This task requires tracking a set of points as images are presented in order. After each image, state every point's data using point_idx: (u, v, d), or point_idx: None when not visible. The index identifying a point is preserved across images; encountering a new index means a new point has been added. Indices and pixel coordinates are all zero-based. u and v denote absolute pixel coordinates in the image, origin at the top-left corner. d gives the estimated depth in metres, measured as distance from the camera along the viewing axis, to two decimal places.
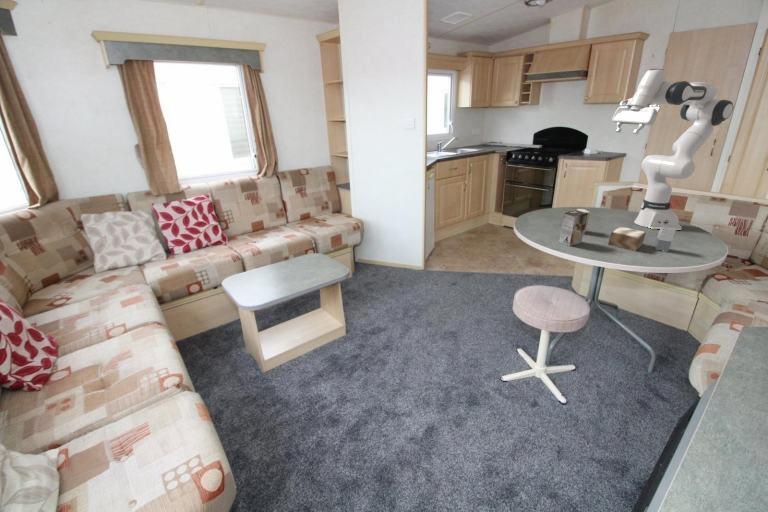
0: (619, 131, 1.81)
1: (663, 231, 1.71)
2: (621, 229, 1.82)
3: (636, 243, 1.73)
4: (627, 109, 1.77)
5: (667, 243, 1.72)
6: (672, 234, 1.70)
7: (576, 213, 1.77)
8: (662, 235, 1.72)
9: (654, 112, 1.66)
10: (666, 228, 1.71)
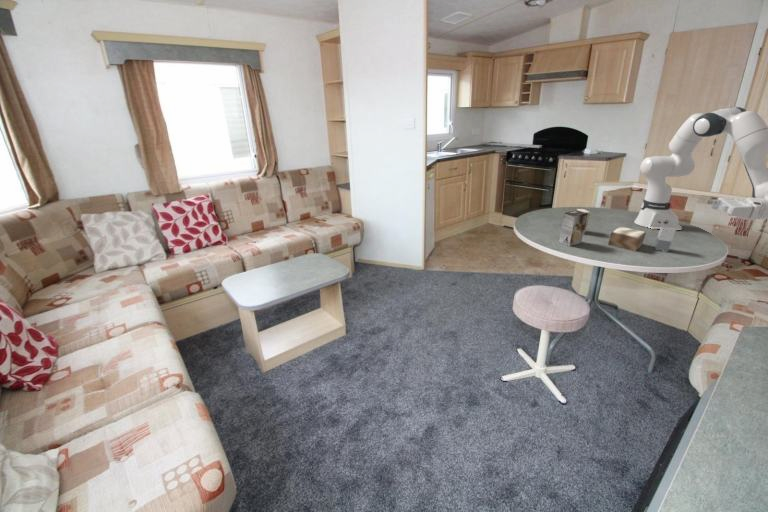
0: None
1: (663, 231, 1.71)
2: (621, 229, 1.82)
3: (636, 243, 1.73)
4: None
5: (667, 243, 1.72)
6: (672, 234, 1.70)
7: (576, 213, 1.77)
8: (662, 235, 1.72)
9: None
10: (666, 228, 1.71)
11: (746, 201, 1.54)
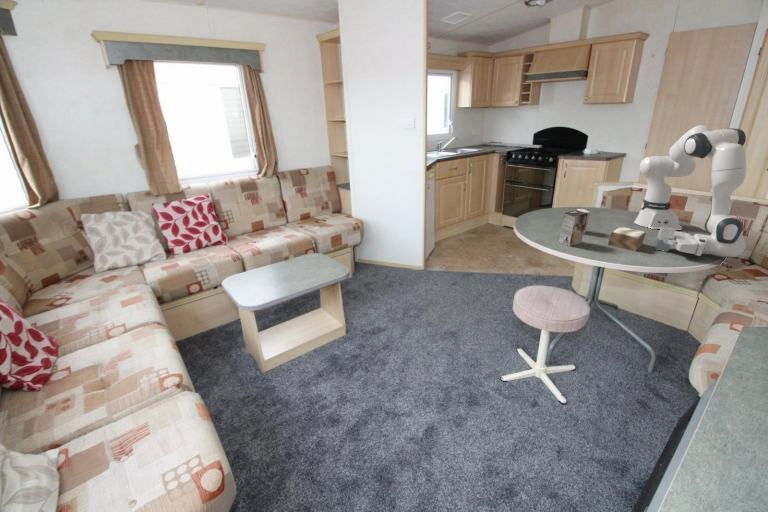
0: None
1: (663, 231, 1.71)
2: (621, 229, 1.82)
3: (636, 243, 1.73)
4: None
5: None
6: (672, 234, 1.70)
7: (576, 213, 1.77)
8: (662, 235, 1.72)
9: None
10: (666, 228, 1.71)
11: (694, 237, 1.67)
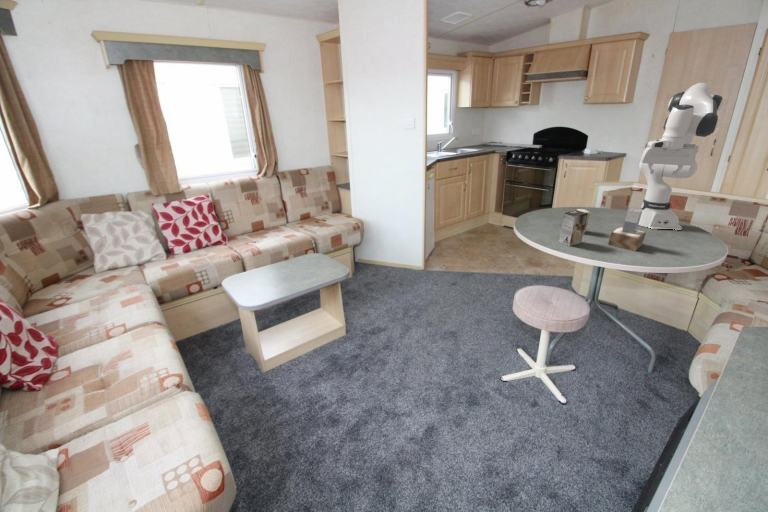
0: None
1: (628, 212, 1.74)
2: (621, 229, 1.82)
3: (636, 243, 1.73)
4: (661, 151, 1.64)
5: (632, 225, 1.75)
6: (637, 216, 1.72)
7: (576, 213, 1.77)
8: (628, 216, 1.75)
9: (695, 153, 1.61)
10: (633, 210, 1.74)
11: None
